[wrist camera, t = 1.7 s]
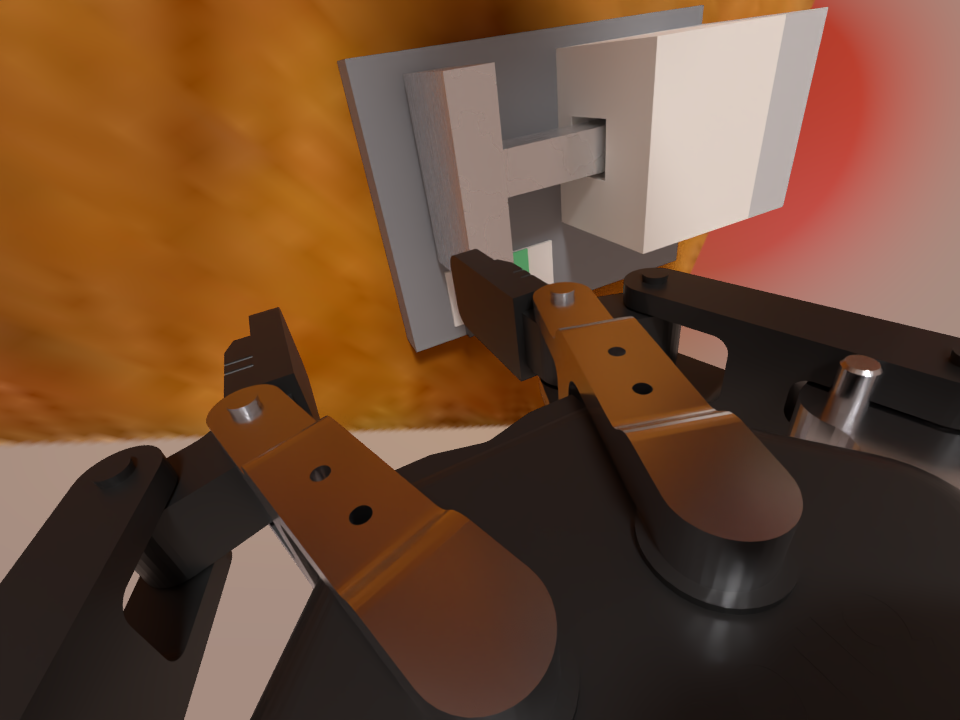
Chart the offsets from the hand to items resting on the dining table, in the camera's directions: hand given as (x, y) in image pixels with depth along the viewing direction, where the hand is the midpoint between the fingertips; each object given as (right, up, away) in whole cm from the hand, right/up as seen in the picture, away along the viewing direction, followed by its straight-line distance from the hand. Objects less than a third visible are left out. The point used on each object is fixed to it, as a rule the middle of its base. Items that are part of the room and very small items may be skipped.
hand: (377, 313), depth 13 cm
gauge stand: (+7, +11, +19) cm, 23 cm away
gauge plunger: (+5, +9, +17) cm, 19 cm away
